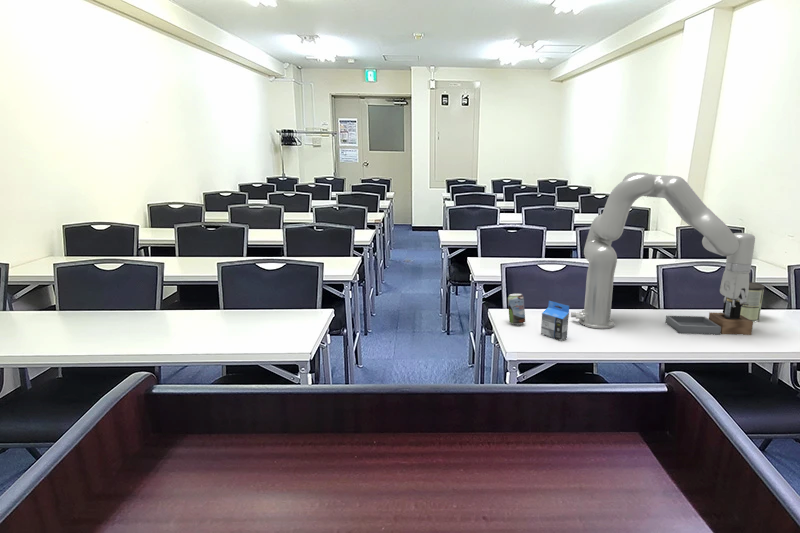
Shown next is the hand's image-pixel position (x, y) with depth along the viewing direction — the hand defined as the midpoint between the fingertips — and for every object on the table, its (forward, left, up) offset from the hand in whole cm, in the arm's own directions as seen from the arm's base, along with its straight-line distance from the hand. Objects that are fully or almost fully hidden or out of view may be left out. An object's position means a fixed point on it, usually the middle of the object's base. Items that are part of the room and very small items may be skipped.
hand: (731, 314), depth 176 cm
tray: (-13, 0, -6) cm, 14 cm away
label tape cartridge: (-66, -14, -6) cm, 68 cm away
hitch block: (0, 0, -6) cm, 6 cm away
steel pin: (0, 0, -6) cm, 6 cm away
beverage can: (-78, -1, -6) cm, 78 cm away
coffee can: (+13, +15, -6) cm, 21 cm away
